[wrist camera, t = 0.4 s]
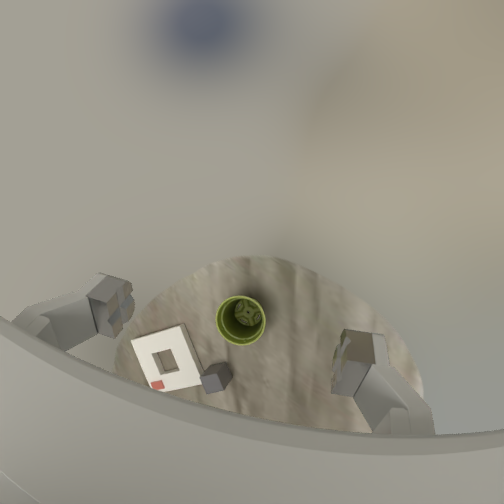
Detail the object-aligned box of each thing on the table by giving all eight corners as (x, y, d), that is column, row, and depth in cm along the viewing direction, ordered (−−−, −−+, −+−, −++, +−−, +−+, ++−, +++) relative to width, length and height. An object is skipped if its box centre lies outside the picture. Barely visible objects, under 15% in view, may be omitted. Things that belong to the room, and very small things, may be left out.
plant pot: (279, 302, 63) (274, 310, 54) (259, 341, 64) (252, 354, 55) (238, 281, 64) (227, 286, 56) (220, 320, 65) (207, 330, 57)
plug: (232, 377, 65) (223, 390, 58) (216, 381, 66) (206, 394, 59) (225, 361, 65) (216, 373, 58) (209, 365, 66) (199, 377, 59)
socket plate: (207, 379, 66) (202, 384, 63) (158, 389, 68) (152, 394, 65) (184, 323, 67) (178, 326, 64) (136, 338, 69) (129, 341, 66)
